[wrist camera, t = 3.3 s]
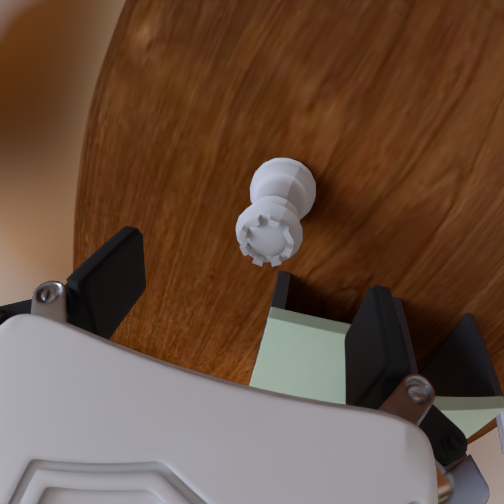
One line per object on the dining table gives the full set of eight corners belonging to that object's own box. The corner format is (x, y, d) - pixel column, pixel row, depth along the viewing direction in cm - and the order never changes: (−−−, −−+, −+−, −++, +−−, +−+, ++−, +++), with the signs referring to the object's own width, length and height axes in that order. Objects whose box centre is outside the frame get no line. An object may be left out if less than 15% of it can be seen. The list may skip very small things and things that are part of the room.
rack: (279, 270, 24) (251, 386, 15) (472, 314, 22) (506, 407, 13) (256, 357, 30) (231, 448, 21) (416, 384, 28) (424, 465, 19)
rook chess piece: (272, 143, 18) (245, 177, 12) (329, 179, 19) (335, 233, 12) (241, 195, 21) (203, 253, 14) (294, 226, 21) (281, 297, 15)
